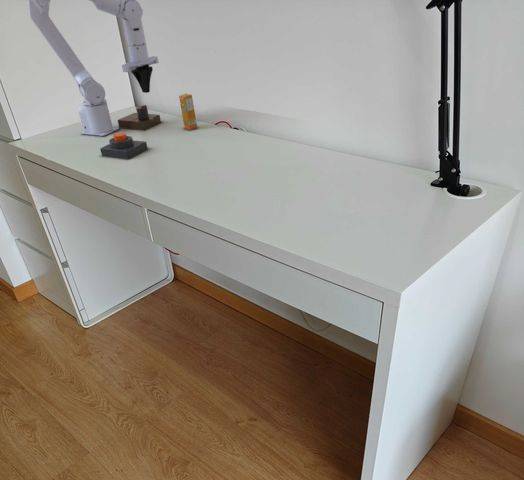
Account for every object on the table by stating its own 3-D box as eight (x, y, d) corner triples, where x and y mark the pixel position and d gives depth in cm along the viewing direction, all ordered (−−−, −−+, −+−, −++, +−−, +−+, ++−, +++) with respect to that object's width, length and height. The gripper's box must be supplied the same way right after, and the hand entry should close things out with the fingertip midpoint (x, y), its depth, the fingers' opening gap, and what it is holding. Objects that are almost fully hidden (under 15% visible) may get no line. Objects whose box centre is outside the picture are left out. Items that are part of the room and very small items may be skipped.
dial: (141, 120, 164) (139, 108, 161) (136, 118, 166) (133, 106, 163) (151, 118, 165) (148, 105, 163) (145, 116, 167) (143, 104, 165)
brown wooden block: (118, 128, 168) (116, 119, 166) (135, 120, 174) (134, 112, 172) (147, 130, 163) (145, 122, 161) (164, 122, 169) (162, 114, 168)
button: (112, 142, 144) (110, 135, 143) (120, 138, 146) (118, 132, 145) (121, 143, 142) (120, 136, 141) (129, 139, 145) (128, 132, 144)
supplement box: (183, 128, 162) (177, 95, 156) (191, 126, 164) (186, 93, 157) (189, 130, 160) (184, 96, 154) (197, 128, 162) (193, 94, 155)
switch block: (101, 156, 146) (98, 141, 143) (121, 146, 152) (118, 132, 149) (128, 159, 142) (125, 144, 139) (147, 149, 148) (144, 135, 145)
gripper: (143, 40, 163) (152, 86, 171) (111, 48, 154) (121, 96, 162) (159, 40, 159) (167, 87, 168) (127, 49, 150) (137, 98, 159)
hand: (146, 92), depth 165 cm, fingers closed
